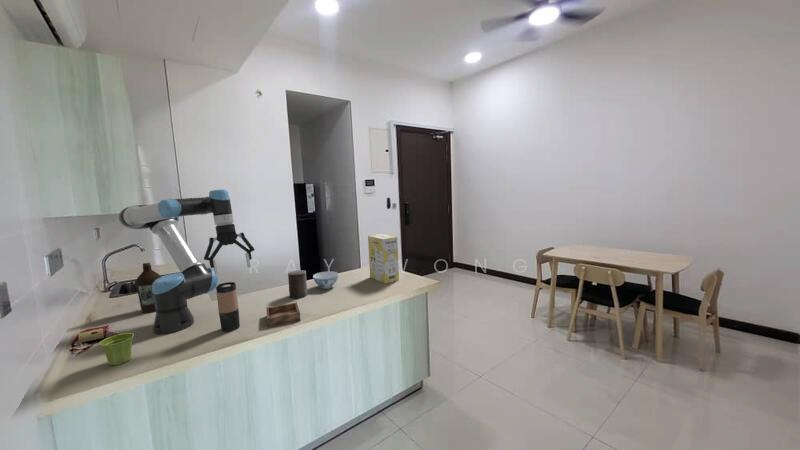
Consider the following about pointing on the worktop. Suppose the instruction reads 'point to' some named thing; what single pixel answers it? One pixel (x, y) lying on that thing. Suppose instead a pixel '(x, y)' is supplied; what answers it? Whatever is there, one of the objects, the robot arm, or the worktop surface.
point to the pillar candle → (297, 284)
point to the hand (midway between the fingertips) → (233, 270)
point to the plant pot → (118, 348)
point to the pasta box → (383, 258)
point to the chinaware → (325, 279)
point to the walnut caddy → (282, 314)
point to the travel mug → (228, 306)
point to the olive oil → (146, 288)
